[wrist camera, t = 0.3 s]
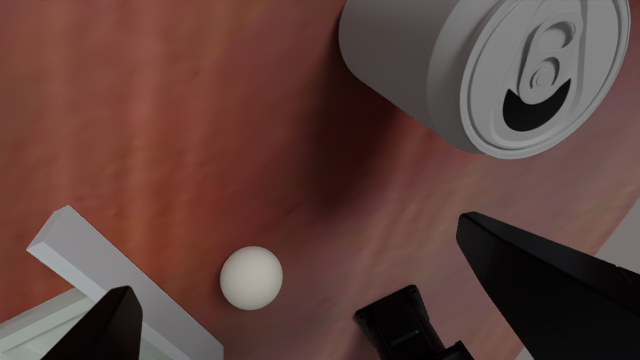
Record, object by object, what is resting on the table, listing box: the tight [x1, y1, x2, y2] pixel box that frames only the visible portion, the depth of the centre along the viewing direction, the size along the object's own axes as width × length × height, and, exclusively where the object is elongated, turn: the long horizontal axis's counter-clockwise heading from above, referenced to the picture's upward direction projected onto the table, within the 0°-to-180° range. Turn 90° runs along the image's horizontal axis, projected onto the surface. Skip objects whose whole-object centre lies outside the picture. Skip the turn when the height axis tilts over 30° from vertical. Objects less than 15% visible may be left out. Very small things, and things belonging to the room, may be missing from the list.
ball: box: [220, 246, 283, 310], centre depth 24 cm, size 4×4×4 cm
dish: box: [0, 287, 172, 360], centre depth 25 cm, size 9×9×2 cm
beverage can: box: [339, 0, 630, 159], centre depth 15 cm, size 6×6×12 cm
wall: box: [26, 205, 224, 360], centre depth 24 cm, size 18×1×4 cm, turn 23°
